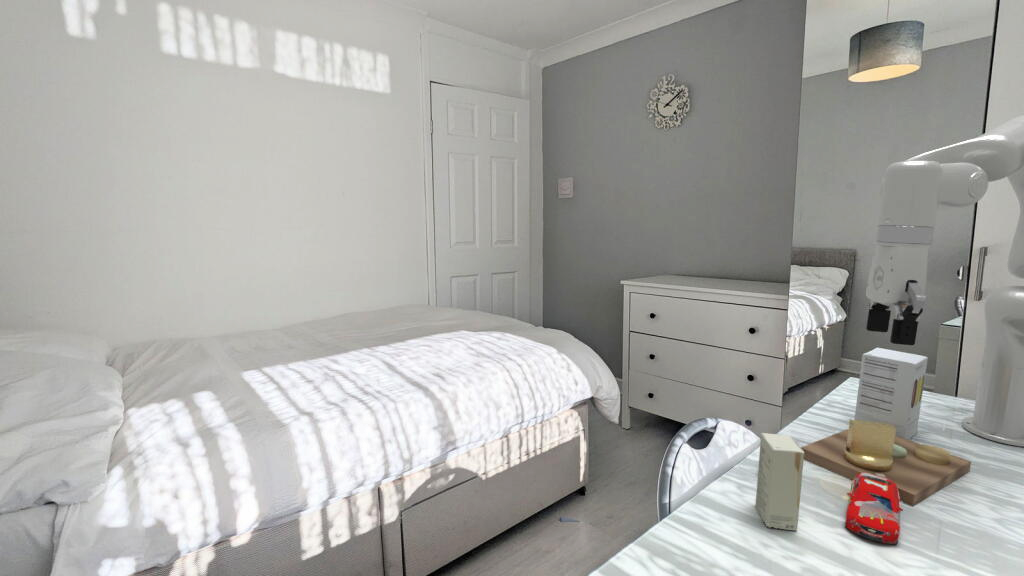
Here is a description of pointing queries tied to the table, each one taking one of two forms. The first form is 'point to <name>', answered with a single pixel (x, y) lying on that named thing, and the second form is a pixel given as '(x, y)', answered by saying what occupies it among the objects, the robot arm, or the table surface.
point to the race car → (874, 508)
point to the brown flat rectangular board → (895, 465)
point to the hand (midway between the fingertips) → (888, 337)
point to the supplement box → (891, 389)
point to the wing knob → (870, 445)
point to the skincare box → (779, 481)
